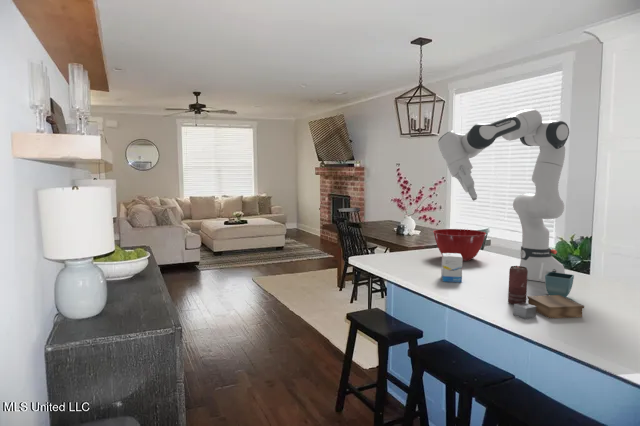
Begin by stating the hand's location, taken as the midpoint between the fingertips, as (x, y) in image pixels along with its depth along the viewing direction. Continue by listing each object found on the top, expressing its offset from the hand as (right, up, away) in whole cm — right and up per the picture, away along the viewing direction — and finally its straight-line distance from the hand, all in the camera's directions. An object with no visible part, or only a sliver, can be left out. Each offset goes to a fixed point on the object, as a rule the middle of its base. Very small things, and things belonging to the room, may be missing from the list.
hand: (475, 198), depth 171 cm
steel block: (+7, -41, -27) cm, 50 cm away
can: (+11, -40, -13) cm, 44 cm away
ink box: (-3, -37, +21) cm, 42 cm away
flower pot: (+31, -39, -5) cm, 50 cm away
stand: (+20, -41, -22) cm, 50 cm away
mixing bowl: (+15, -32, +67) cm, 76 cm away
